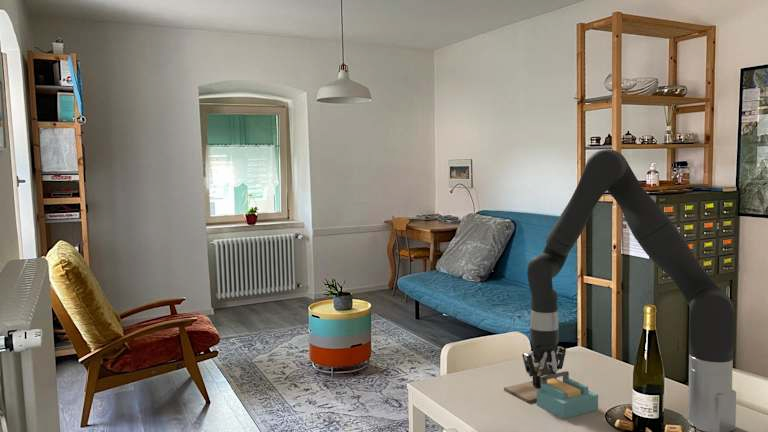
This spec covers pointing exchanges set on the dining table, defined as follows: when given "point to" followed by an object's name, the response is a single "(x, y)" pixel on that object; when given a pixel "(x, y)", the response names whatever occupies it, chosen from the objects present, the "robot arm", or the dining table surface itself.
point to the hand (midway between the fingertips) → (544, 386)
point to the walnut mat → (524, 391)
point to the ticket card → (564, 387)
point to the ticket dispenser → (565, 398)
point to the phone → (543, 370)
